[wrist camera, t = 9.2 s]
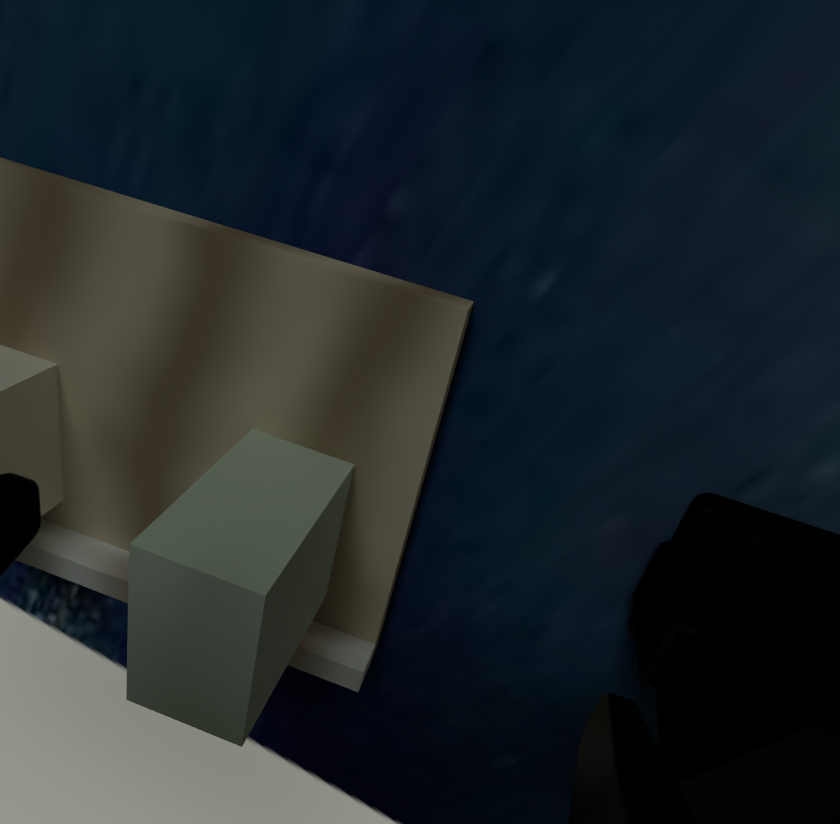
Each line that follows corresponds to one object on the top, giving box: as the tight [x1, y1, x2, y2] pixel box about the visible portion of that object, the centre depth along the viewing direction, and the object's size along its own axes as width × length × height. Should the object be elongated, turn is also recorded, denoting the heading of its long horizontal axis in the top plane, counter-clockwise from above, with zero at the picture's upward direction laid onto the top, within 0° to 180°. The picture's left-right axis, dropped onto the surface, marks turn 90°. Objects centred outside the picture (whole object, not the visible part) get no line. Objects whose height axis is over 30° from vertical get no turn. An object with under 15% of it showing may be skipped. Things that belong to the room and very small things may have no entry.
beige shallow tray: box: [0, 158, 474, 692], centre depth 24 cm, size 19×16×2 cm
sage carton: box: [127, 429, 355, 746], centre depth 22 cm, size 4×7×7 cm, turn 167°
